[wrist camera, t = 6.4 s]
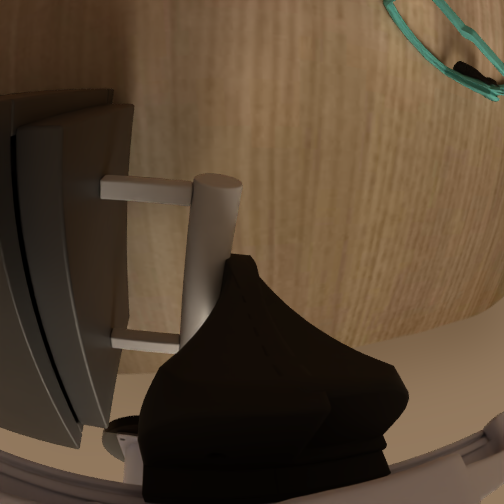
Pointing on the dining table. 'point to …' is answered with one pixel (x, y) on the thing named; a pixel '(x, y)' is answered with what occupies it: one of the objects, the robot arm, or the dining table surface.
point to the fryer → (17, 294)
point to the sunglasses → (460, 71)
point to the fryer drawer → (104, 245)
